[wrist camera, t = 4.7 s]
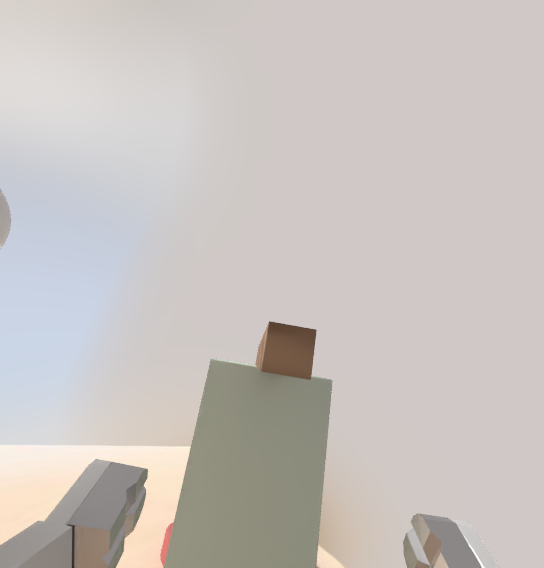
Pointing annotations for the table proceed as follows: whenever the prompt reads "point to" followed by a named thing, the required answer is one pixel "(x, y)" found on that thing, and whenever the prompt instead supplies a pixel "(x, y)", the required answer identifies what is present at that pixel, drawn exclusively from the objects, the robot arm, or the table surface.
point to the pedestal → (253, 472)
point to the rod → (287, 350)
